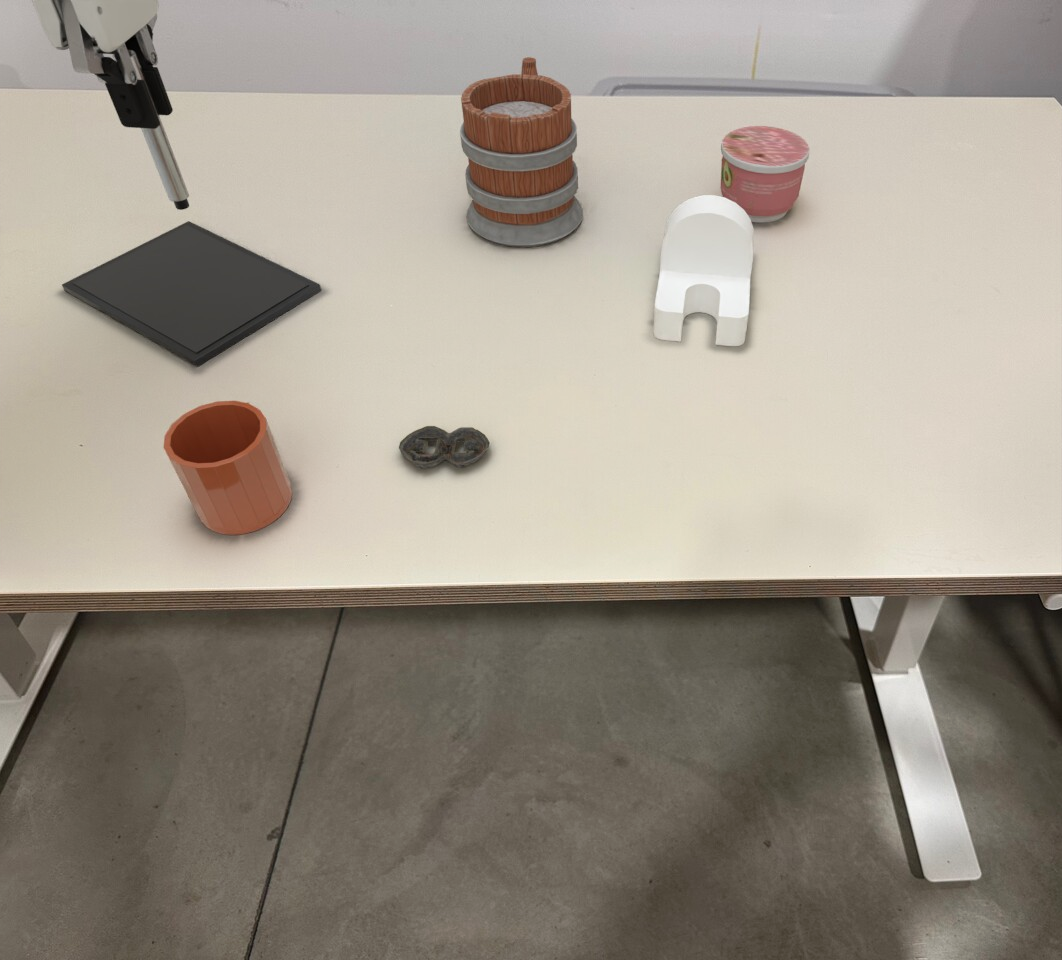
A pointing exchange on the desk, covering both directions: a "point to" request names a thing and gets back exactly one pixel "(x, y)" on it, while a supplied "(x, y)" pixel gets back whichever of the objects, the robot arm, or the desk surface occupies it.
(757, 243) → the desk surface
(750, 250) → the u-slot stand
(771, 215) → the container
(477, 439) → the corroded twin loop
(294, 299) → the tablet
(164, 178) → the stylus
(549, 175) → the mug
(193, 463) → the holder
